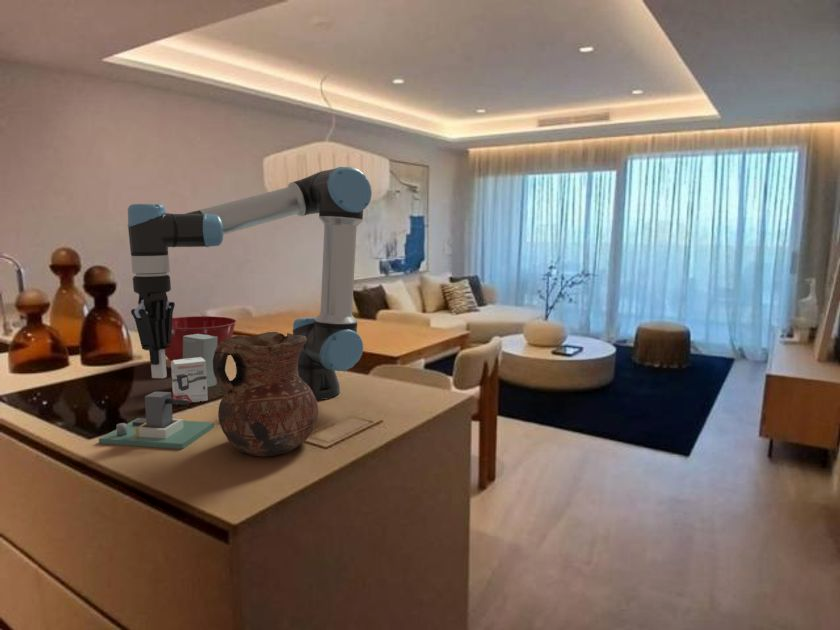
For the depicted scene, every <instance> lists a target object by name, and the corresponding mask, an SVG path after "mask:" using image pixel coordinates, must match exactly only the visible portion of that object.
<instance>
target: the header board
mask: <svg viewBox="0 0 840 630" xmlns="http://www.w3.org/2000/svg"><path fill="white" fill-rule="evenodd" d="M214 428H215V422H214V421H213V422H211V421H199V420H196V421H193V420H184V419H181V418H173V424H171V425H169V426H168V427H166V428H148V427H147V426H146V417H145V418H144V417H137V418H135V419H134V420H131V421H130V422H128V423H126V422H121V423H117V424H116V429H114V430H112V431H110V432H108V433H107V434H105V435H102V436H100V437H99V438H98V444H100V445H113V446H116V445H117V446H130V447H144V448H145V447H146V448H159V449H160V448H162V449H177V450H184V449H186V448H187V447H188V446H189V445H191V444H192V443H193V442H195V441H197V440H198V439H199V438H201V437H202V436H204V435H205V434H206V433H208V432H209V431H211V430H212V429H214Z"/></svg>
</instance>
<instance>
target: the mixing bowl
mask: <svg viewBox="0 0 840 630" xmlns="http://www.w3.org/2000/svg"><path fill="white" fill-rule="evenodd" d="M236 323H237V320H236V319H235V318H231V317H227V316H226V317H225V316H210V315H209V316H208V315H207V316H206V315H205V316H202V315H201V316H200V315H199V316H197V315H196V316H179V317H178V316H177V317H172V332H171V343H170V344H167V345H170V347H169V348H165V357H166V359H168V360H169V361H170V362H171V361H173V360H179V359H183V336H186V335H193V334H203V335H210V336H215V337H218V338H217V346H218V344H219V343H220V342H221V341H223V340H225V339H226V338H229V337H232V336H233V333H234V329H235V326H236Z"/></svg>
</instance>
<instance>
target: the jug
mask: <svg viewBox="0 0 840 630" xmlns="http://www.w3.org/2000/svg"><path fill="white" fill-rule="evenodd" d="M306 341H307V339H306V337H305V336H303V335H293V333H289V332H287V334H286V335H285V334H283V333H281V332H277V331H267V332H262V333H259V334H256V335H250V336H248V335H241V334H240V335H239V334H237V335H232V337H229V338H226V339H225V340H223V341H221V342H220V343H219V344H218V346H217V348H216V350H215V352H214V353H215V354H214V357H213V372H214V375H215V378H216V380H217V383H218V385H219V387H220V389H221V390H222V392H223V394H224V395H223V397H222V398H221V401H220V402H219V405H218V412H217V416H218V417H217V418H218V422H219V425H220V426H219V427H220V428H221V430H222V433H223V434H224V436H225V437H226V439H227V440H228V441H229V443H230V444H231V445H233V446H234V448H236V449H237V450H238V451H239V452H240V453H242V454H246V455H249V456H255V457H273V456H280V454H281V455H284V453H285V454H287V453H289V452H291V451H293V450H295V449H296V448H298V447H299V446H302V444H303V443H305V442H306V441H307V440H308V439H309V437H310V436H311V435H312V433H313V431H314V430H315V429H314V428H315V427H316V425H317V420H318V418H319V406H318V401H317V400H316V398H315V396H314V394H313V392H312V390H311V388H310V387H309V386H308V385H307V384H306V383H305V382H304V381H303V380H302V379H301V378H300V377H299V374H298V359H299V355H300V353H301V350H302V348H303V346H304V344H305V342H306ZM229 356H231V358H232V359H233V362H234V363H235V370H236V373H235V377H234V378H233V379H232V380H230V379H229V376H228V375H227V372H226V364H227V361H228V357H229Z"/></svg>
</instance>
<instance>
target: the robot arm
mask: <svg viewBox="0 0 840 630" xmlns="http://www.w3.org/2000/svg"><path fill="white" fill-rule="evenodd" d="M372 193H373V192H372V185H371V182H370V181H369V179H368V177H367V176H366V175H365V174H364V173H363V172H362V171H361V170H359V168H355V167H352V166H338V167H335V168H332V169H327V170H321V171H319V172H316V173H314V174H311V175H309V176H307V177H304V178H301V179H298V180H296V181H291V182H289V183H288V185H287V187H283V188H280V189H276V190H271V191H267V192H263V193H259V194H256V195H251V196H248V197H245V198H244V197H243V198H241V199H236V200H233V201H229V202H225V203H221V204H217V205H214V206H210V207H205V208H202V209H198V210H195V211H194V210H193V211H190V212H187V213H167V210H166V208H165V206H164V205H163V204H160V203H159V204H158V203H157V204H156V203H155V204H154V203H134V204H130V205H129V206H128V208H127V228H128V239H129V249H130V250H129V251H130V258H131V259H130V260H131V273H132V274H135V275H134V276H133V277H132V285H133V292H134V294H135V293H136V294H138V301H137V304H138V306H137V307H136V308H131V311H130V313H131V315H132V316H133V318H134V321H135V325H136V330H137V333H138V337H139V341H140V345H141V348H142V350H144V351H148V352H149V362H150V370H151V378H152V379H164V378H165V379H166V378H167V377H168V375H167V374H168V373H167V363H166V361H167V360H166V359H167V357H166V355H165V348H169V347H170V345H167V344H170V343H171V332H172V318H174V317H173V315H174V310H175V305H176V304H175V302H174V301H169V300H168V295H167V293H169V292H170V291H171V290H172V287H171V276H170V275H169V273H170V272H171V269H170V259H169V258H170V257H169V248H203V247H205V248H211V247H219V246H221V244H223V240H224V236H225V235H226V234H230V233H234V232H238V231H241V230H244V229H248V228H249V229H250V228H252V227H256V226H259V225H263V224H266V223H270V222H273V221H276V220H281V219H284V218H288V217H290V216H291V217H292V216H295V215H297V216H298V217H304V216H308V215H313V214H318V218H319V220H320V221H321V222H322V223H323V224H324V225H323V226H324V227H323V229H324V230H323V250H322V271H321V273H322V274H321V291H320V292H321V295H320V311H319V314H318V315H317V316H311V317H310V316H309V317H301V318H295V320H294V321H293V324H292V325H293V326H292V334H293V335H303V336H305V337H306V339H307V341H306V342H305V344H304V346H303V348H302V350H301V353H300V355H299V359H298V374H299V377H300V378H301V379H302V380H303V381H304V382H305V383H306V384H307V385H308V386H309V387H310V388H311V390H312V392H313V394H314V396H315V398H316V401H317V400H318V401H319V400H327V399H331V398H334V397H336V396H338V395H339V394H340V393H341V386H340V382H339V378H338V376H337V373H336V372H344V371H347V370H350V369H351V368H353V367H354V366H355V365H356V364H357V363H359V361H360V359H361V357H362V355H363V352H364V341H363V339H362V338H361V336H360V335H359V333H358V320H357V319H356V318H355V316H353V304H354V303H353V301H354V286H355V285H354V283H355V264H356V245H357V228H358V226H359V225H360V224H361V223H362V222H364V221H363V219H364V209H366V208H367V207H368V206H369V204H370V203H371V199H372V195H373V194H372ZM337 394H338V395H337ZM333 396H334V397H333ZM330 397H331V398H330ZM326 398H327V399H326Z"/></svg>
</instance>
